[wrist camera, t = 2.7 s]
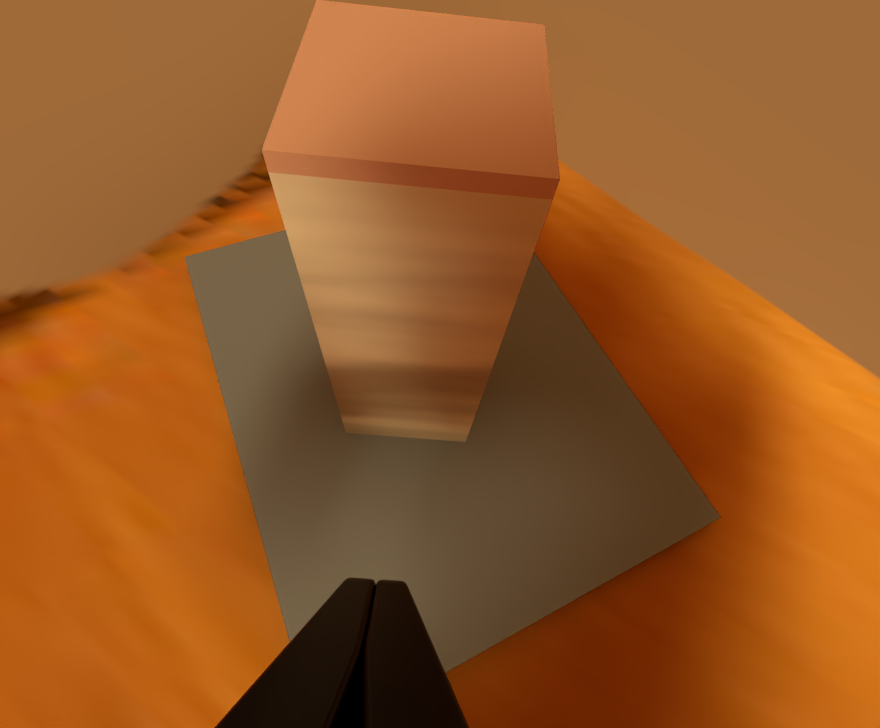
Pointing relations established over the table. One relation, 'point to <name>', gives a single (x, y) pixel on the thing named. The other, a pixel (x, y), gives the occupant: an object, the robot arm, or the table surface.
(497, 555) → the rubber mat
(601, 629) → the table surface
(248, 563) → the table surface
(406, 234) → the maple block
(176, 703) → the table surface
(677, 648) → the table surface
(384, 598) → the robot arm
